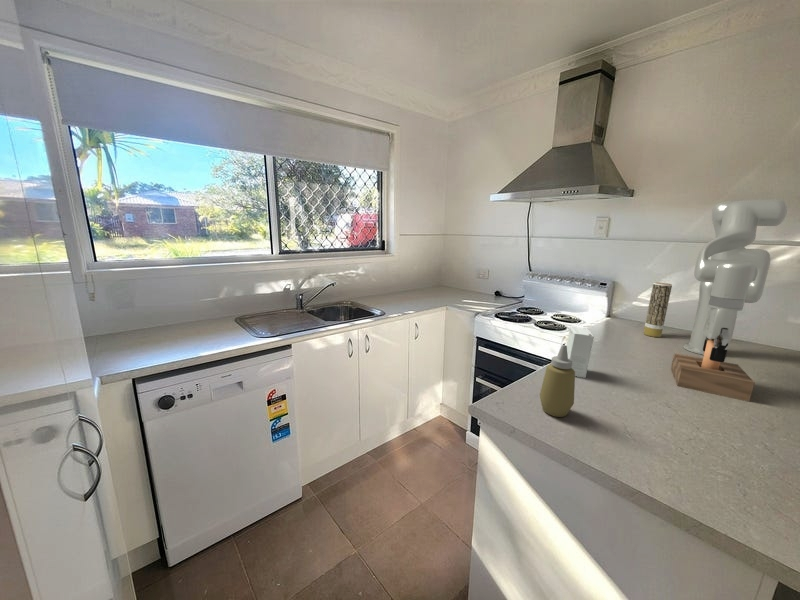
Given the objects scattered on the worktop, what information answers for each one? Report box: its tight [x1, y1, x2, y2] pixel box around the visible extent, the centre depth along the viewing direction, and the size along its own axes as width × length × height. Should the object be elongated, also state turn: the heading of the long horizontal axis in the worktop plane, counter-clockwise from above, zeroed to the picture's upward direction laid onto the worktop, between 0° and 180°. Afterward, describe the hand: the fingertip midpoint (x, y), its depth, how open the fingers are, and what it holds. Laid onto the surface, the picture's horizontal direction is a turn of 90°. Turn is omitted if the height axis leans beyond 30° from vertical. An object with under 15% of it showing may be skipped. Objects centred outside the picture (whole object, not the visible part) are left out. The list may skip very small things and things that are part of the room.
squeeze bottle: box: [539, 344, 576, 418], centre depth 83 cm, size 8×8×18 cm
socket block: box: [670, 352, 755, 402], centre depth 104 cm, size 16×16×6 cm
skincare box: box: [566, 325, 595, 379], centre depth 108 cm, size 8×6×15 cm
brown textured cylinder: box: [643, 282, 673, 338], centre depth 152 cm, size 7×7×25 cm
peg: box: [701, 340, 720, 370], centre depth 103 cm, size 4×4×14 cm
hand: (712, 356), depth 102 cm, fingers open, 9 cm apart
